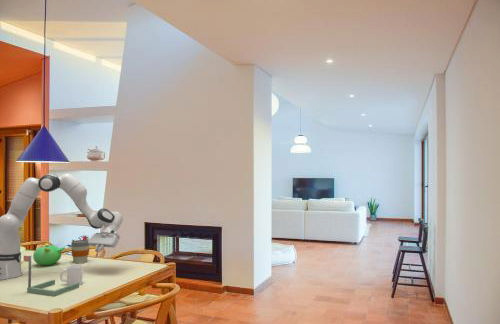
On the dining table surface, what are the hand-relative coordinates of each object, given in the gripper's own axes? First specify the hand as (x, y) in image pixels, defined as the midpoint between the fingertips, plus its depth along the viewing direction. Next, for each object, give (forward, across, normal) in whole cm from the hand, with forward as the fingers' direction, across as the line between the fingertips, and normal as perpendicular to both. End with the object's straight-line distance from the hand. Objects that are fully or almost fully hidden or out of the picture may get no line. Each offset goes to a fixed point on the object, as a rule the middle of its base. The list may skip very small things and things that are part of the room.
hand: (97, 251), depth 255 cm
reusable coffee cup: (-7, -36, +28) cm, 46 cm away
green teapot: (+4, -50, +17) cm, 53 cm away
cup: (+26, 0, -4) cm, 26 cm away
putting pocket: (+35, -2, -14) cm, 37 cm away
